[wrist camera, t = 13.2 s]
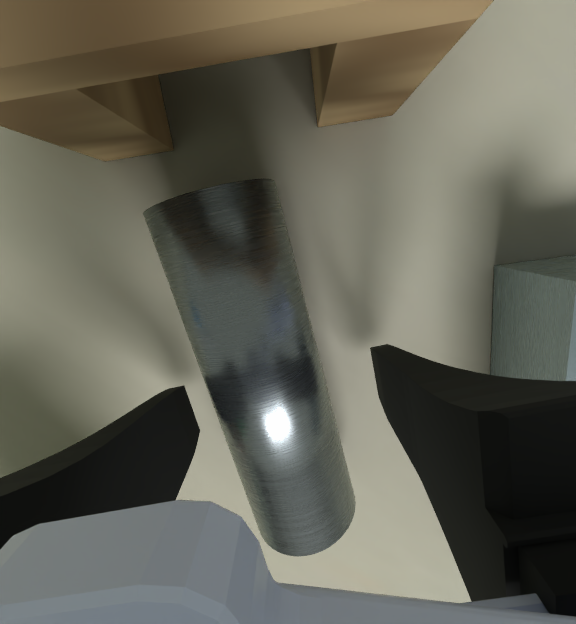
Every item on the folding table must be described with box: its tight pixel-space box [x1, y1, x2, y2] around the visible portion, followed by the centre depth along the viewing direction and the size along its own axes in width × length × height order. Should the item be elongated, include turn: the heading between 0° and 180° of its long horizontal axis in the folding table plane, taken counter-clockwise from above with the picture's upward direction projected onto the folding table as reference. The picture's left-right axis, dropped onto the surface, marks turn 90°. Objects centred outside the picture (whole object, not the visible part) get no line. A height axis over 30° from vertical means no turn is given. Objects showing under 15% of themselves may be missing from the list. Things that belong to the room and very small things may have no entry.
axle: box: [143, 179, 355, 556], centre depth 11 cm, size 4×12×4 cm, turn 14°
